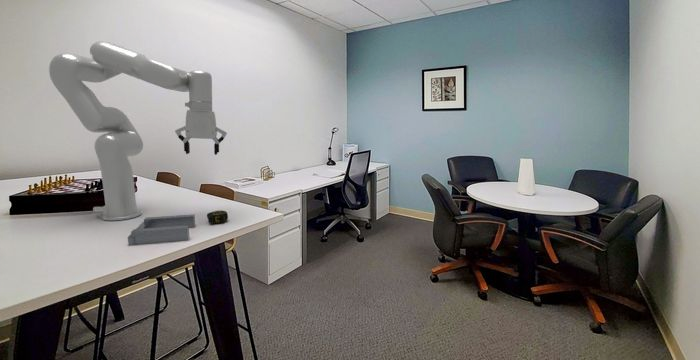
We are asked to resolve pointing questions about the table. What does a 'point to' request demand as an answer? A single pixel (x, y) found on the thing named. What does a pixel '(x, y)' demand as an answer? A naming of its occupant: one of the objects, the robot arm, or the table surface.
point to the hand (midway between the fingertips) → (202, 153)
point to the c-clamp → (162, 229)
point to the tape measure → (217, 216)
